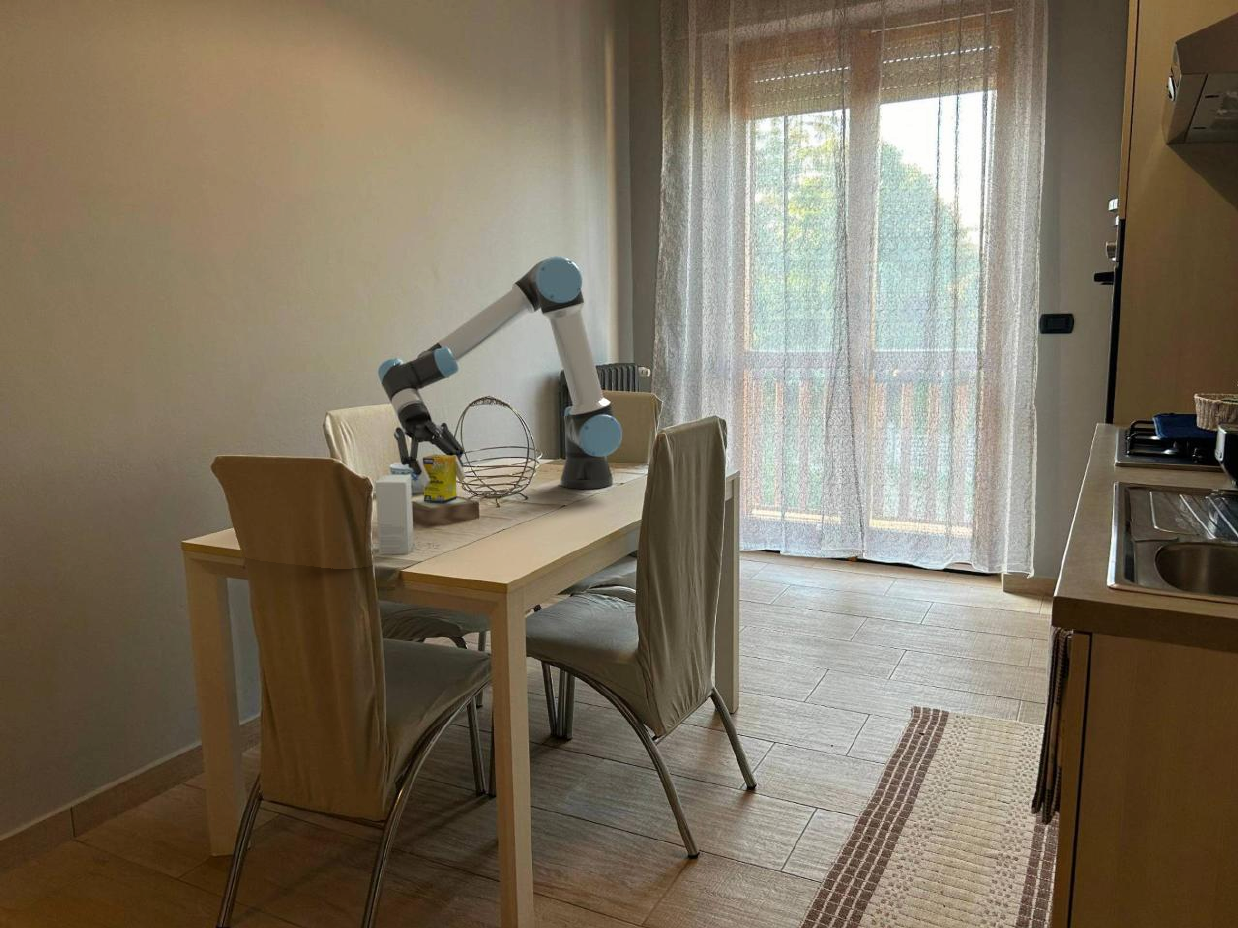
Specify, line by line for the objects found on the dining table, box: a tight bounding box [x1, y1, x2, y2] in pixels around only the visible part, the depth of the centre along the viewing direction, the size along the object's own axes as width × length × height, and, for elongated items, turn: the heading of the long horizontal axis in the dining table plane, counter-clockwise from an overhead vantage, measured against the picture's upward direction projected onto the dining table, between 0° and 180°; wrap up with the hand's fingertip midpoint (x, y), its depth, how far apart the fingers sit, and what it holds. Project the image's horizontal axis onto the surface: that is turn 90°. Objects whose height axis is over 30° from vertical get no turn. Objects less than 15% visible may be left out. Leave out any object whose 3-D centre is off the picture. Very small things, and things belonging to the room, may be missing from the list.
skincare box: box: [375, 474, 415, 556], centre depth 194 cm, size 8×7×16 cm
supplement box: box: [422, 454, 458, 503], centre depth 224 cm, size 6×6×11 cm
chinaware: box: [388, 459, 424, 494], centre depth 262 cm, size 15×15×8 cm
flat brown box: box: [412, 495, 480, 528], centre depth 225 cm, size 14×13×4 cm
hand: (445, 481), depth 222 cm, fingers open, 9 cm apart
